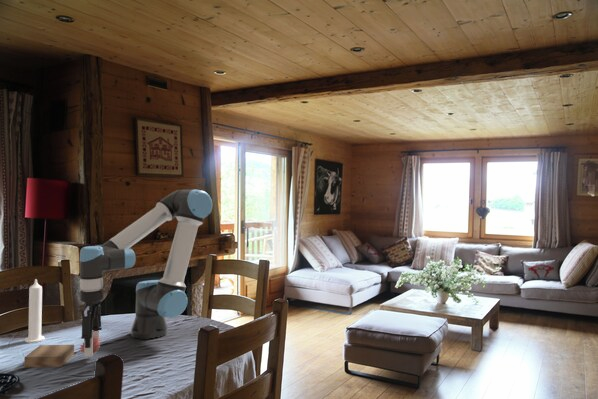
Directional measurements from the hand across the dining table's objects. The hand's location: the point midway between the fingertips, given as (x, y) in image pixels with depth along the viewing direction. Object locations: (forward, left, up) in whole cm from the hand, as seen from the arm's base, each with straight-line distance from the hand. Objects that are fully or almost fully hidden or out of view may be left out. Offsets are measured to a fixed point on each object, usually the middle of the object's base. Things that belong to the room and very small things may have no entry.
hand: (91, 352), depth 162 cm
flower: (0, 0, -1) cm, 1 cm away
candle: (+29, -24, -3) cm, 38 cm away
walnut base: (+14, -1, -3) cm, 15 cm away
